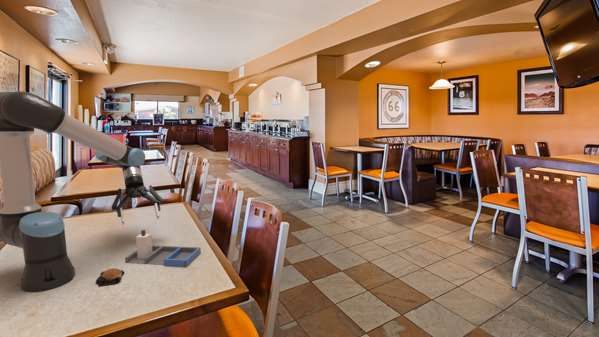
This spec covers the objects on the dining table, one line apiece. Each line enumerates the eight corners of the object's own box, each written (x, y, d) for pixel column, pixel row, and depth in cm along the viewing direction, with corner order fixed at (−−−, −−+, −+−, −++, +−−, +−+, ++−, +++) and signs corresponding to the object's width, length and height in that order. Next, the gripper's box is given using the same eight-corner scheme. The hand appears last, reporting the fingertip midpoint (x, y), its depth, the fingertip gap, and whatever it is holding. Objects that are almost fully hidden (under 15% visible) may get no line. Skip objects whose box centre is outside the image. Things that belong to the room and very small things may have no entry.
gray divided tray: (185, 267, 124) (184, 260, 124) (123, 264, 127) (123, 257, 127) (200, 253, 138) (200, 246, 138) (144, 250, 141) (144, 243, 141)
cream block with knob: (146, 258, 131) (144, 231, 130) (137, 258, 132) (135, 231, 130) (152, 254, 135) (150, 228, 134) (143, 254, 136) (141, 228, 134)
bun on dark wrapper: (99, 275, 119) (99, 266, 119) (125, 271, 123) (124, 262, 122) (94, 289, 110) (93, 279, 109) (122, 284, 113) (121, 274, 112)
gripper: (161, 181, 159) (170, 219, 149) (102, 187, 146) (107, 229, 136) (163, 172, 154) (172, 210, 144) (101, 177, 140) (107, 220, 130)
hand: (141, 220), depth 140 cm, fingers open, 13 cm apart
